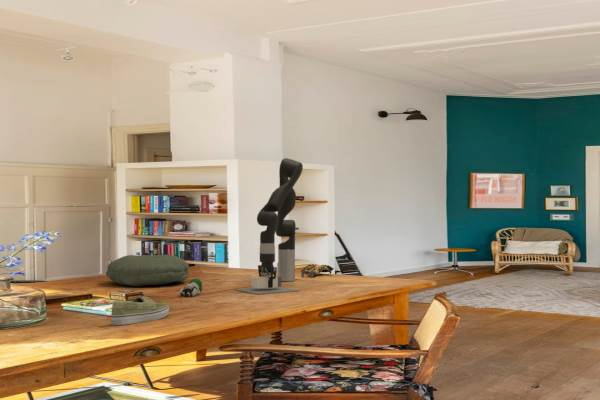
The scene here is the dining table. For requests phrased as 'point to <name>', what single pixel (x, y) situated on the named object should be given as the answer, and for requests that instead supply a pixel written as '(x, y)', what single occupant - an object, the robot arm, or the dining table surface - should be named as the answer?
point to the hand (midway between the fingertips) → (267, 286)
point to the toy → (192, 288)
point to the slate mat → (267, 290)
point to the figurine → (316, 270)
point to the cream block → (265, 282)
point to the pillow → (147, 270)
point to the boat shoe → (137, 311)
